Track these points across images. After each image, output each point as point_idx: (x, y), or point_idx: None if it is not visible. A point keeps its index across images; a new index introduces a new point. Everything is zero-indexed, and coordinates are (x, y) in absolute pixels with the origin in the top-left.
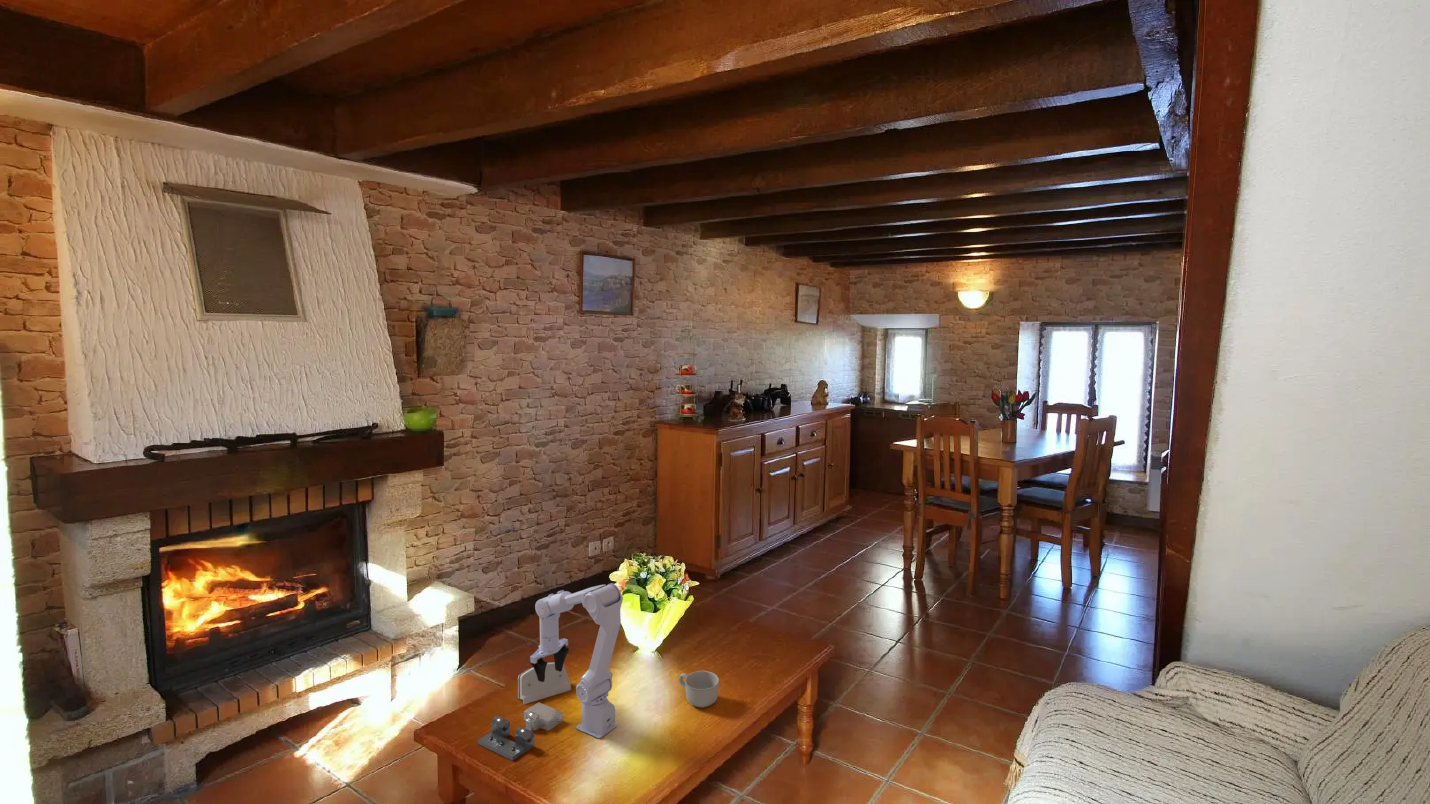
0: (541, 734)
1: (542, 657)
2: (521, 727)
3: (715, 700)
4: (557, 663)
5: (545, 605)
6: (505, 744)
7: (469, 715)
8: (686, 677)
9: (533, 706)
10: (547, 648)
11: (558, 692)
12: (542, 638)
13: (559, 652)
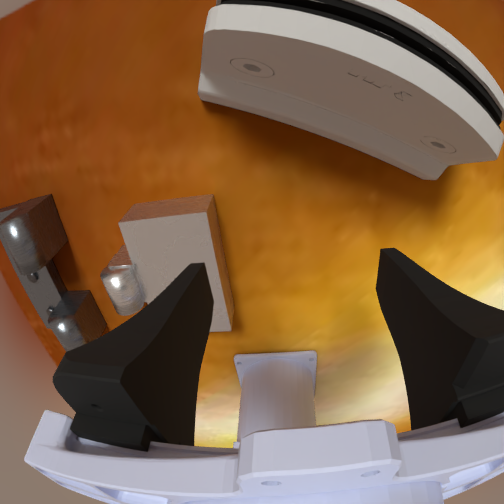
0: (143, 305)
1: (176, 457)
2: (59, 332)
3: None
4: (399, 301)
5: None
6: (39, 285)
7: (22, 38)
8: None
9: (167, 223)
10: None
11: (373, 155)
12: None
13: (428, 405)
